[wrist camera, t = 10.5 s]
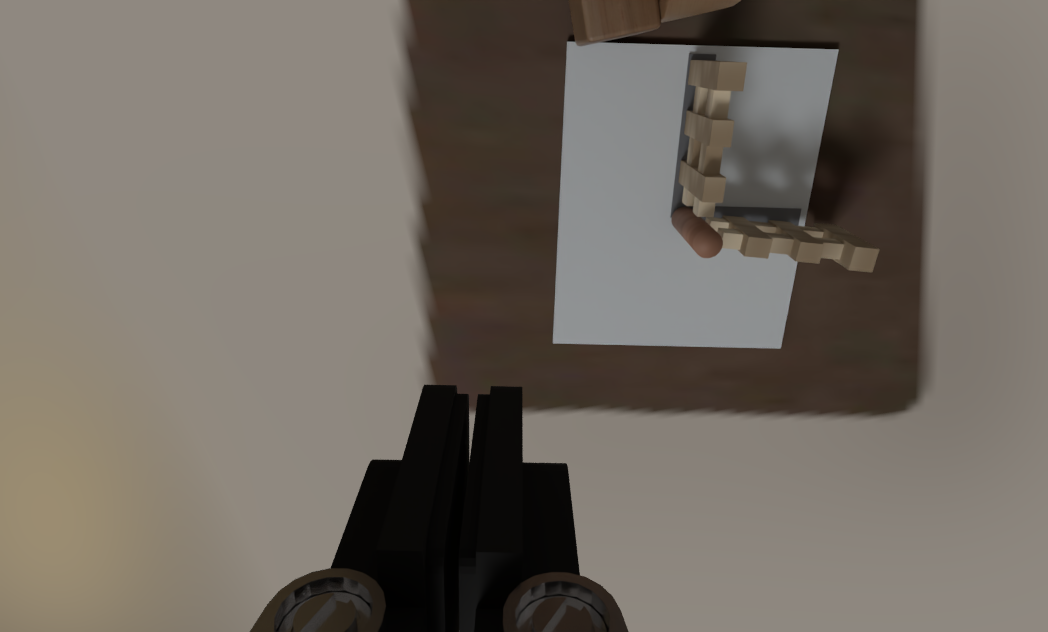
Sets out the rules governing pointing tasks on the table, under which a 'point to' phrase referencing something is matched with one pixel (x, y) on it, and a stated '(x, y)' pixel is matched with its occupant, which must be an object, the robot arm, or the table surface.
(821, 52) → the card
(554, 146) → the table surface
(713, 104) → the fence fixed
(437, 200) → the table surface
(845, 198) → the table surface
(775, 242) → the beige stepped wooden piece
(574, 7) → the wooden toy
